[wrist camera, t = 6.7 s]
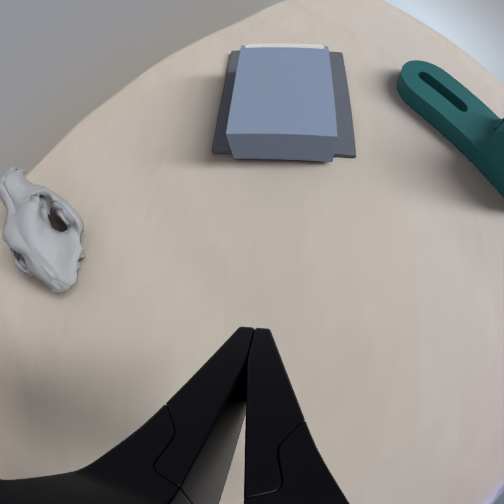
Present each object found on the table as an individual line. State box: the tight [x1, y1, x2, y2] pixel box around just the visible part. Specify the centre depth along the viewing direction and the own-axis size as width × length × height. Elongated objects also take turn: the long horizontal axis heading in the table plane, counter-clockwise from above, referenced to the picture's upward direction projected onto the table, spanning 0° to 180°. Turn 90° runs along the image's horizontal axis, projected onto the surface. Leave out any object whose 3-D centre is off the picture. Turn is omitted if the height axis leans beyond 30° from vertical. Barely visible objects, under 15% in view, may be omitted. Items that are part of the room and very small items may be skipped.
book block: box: [226, 44, 337, 162], centre depth 24 cm, size 4×8×11 cm
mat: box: [212, 51, 356, 158], centre depth 27 cm, size 14×12×1 cm
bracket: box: [397, 60, 504, 197], centre depth 21 cm, size 18×7×8 cm, turn 40°
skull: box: [0, 167, 85, 293], centre depth 22 cm, size 8×9×12 cm
